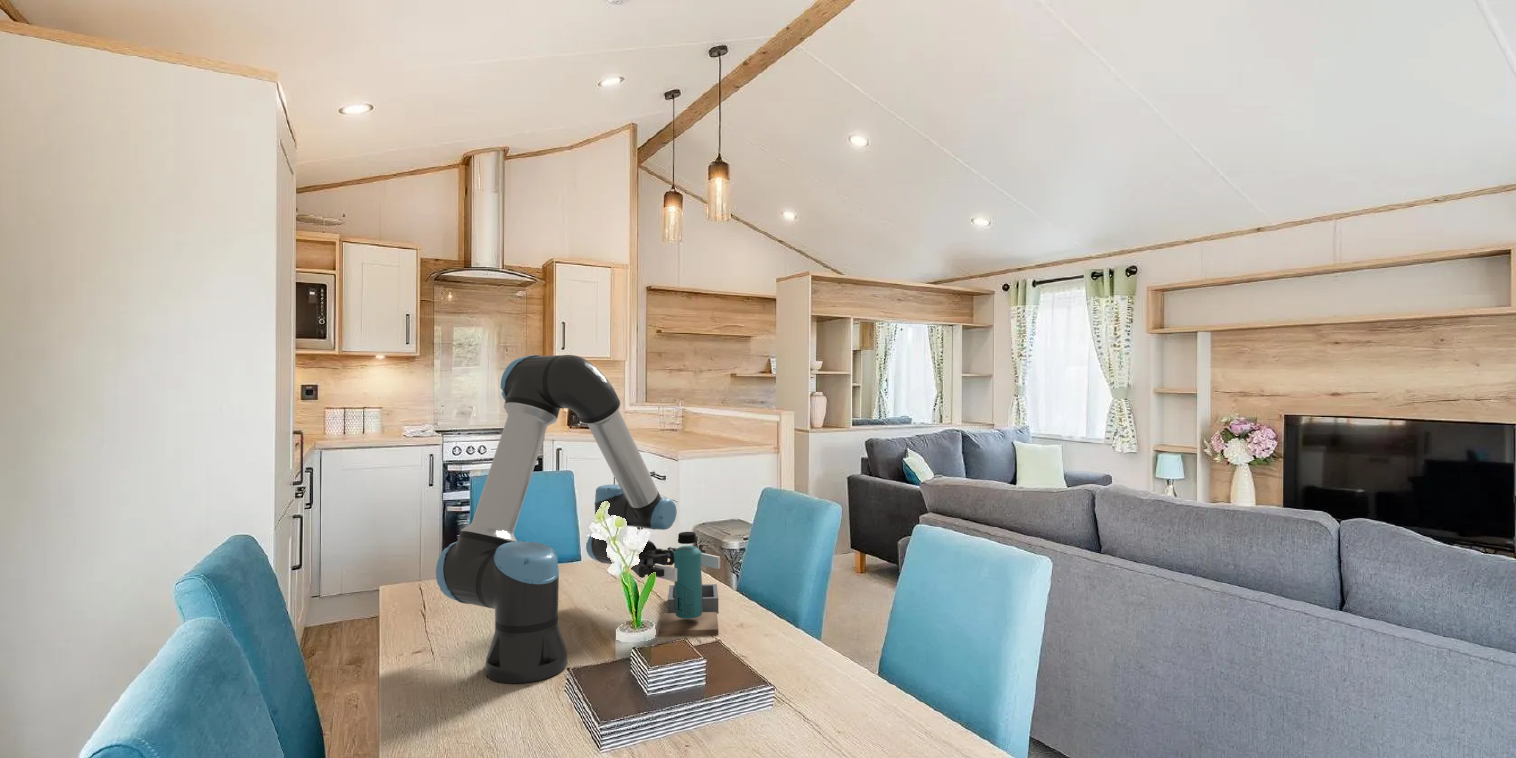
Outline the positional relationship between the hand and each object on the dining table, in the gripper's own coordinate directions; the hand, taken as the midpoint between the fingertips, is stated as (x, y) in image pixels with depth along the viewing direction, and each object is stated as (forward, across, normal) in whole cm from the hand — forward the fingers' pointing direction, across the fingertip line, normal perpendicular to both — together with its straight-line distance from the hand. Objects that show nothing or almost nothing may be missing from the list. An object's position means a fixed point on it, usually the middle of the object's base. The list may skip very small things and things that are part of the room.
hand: (698, 568), depth 163 cm
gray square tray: (-13, -11, -14) cm, 22 cm away
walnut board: (-3, 0, -14) cm, 14 cm away
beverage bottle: (-3, 0, -12) cm, 13 cm away
